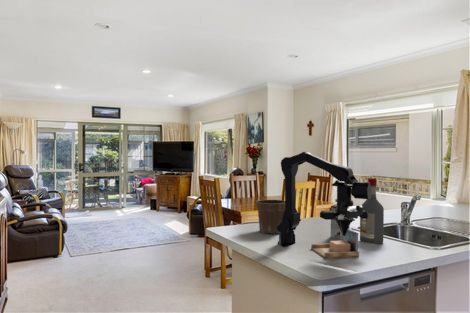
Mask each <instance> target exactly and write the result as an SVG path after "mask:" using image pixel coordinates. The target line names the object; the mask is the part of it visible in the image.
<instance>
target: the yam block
mask: <svg viewBox="0 0 470 313" xmlns="http://www.w3.org/2000/svg"><path fill="white" fill-rule="evenodd" d="M329 243H330V250H332V251H333V252H350V244H349V243H347V242H345V241H343V239H340V240H330V241H329Z"/></svg>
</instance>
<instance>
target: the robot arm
mask: <svg viewBox="0 0 470 313" xmlns="http://www.w3.org/2000/svg"><path fill="white" fill-rule="evenodd" d="M304 163H308V164H310V165H312V166H314V167H317V168H319V169H321V170H323V171H325V172H327V173H328V174H329V175H331V176H332V177H333V178H335V179H336V180H335V181H334V182H333V183H331V186H332V187H336V198H335V203H336V204H337V209H335V212H332V211H331V210H321V211H320V212H319V217H320V218H321V219H324V220H326V221H327V220H330V221H331V220H332V219H334V220H336V222H337V224H338V226H339V228H340V231H341V233H342V235H343V236H345V235H346V232H347V230H348V227H349V225H351V223H352V222H355V221H356V219H358V218H359V219H360V218H361V219H368V213H367V211H363V207H362V206H361V205H354V200H352V197H353V198H354V199H356V200H357V199H359V200H367V199H369V200H370V198H371V194H372V190H371V186H370V182H368V181H366V182H365V181H364V182H361V181H358V179H357V178H356V176H355V175H354V171H353V169H352V168H351V167H349V166H345V165H341V164H337V163H332V162H330V161H329V160H326V159H324V158H321V157H319V156H317V155H315V154H312V153H311V152H310V151H303V152H302V151H301V152H300V153H298V154H295V155H292V156H287V157H283V158H282V159H281V161H280V167H281V172H282V175H283V177H284V201H285V210H284V213H283V215H282V222H281V223H280V224H279V225H278V226H277V231H278V232H279V234H278V241H277V243H278V244H279V246H281V247H291V246H293V245H295V244H296V234H295V231H296V229H297V227H298V226H299V224H300V222H301V221H302V220H301V211H298V210H297V208H296V206H297V204H296V203H297V202H296V200H297V199H296V176H297V173H298V171H299V166H301V165H303V164H304Z"/></svg>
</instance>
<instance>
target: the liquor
mask: <svg viewBox="0 0 470 313" xmlns="http://www.w3.org/2000/svg"><path fill="white" fill-rule="evenodd" d="M367 182H370V186H371V190H372V194H371V198H370V200H369V199H365V201H364V202H363V203H362V204H360V206H362V207H363V211H367V213H368V219H361V218H360V217H359V241H360V242H362V243H366V244H367V243H368V244H372V245H374V244H375V245H383V243H384V218H385V216H384V215H385V214H384V211H385V210H384V209H385V208H384V206H383V204H382V203H381V202H379V200H378V199H377V178H372V177H371V178H369V177H368V178H367Z"/></svg>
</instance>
